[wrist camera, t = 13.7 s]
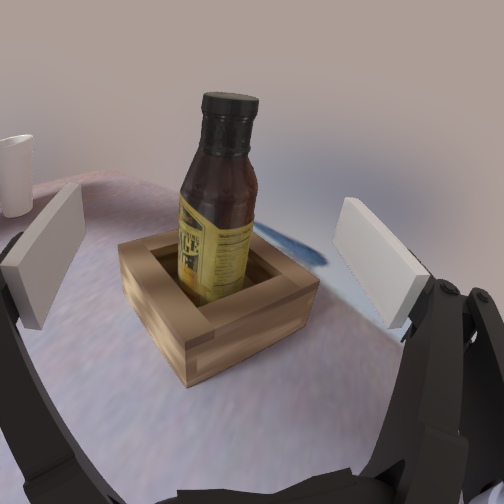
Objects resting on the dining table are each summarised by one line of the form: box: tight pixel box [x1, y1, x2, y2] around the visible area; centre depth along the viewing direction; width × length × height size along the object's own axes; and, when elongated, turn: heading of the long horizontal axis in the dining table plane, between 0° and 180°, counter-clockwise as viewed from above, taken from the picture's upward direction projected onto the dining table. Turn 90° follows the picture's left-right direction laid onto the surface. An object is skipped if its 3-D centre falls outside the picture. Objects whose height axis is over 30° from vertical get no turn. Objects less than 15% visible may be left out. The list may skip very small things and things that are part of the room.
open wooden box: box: [118, 229, 320, 388], centre depth 30 cm, size 14×14×6 cm
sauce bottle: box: [178, 92, 259, 308], centre depth 26 cm, size 6×6×20 cm
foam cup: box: [0, 135, 34, 218], centre depth 40 cm, size 10×9×13 cm
